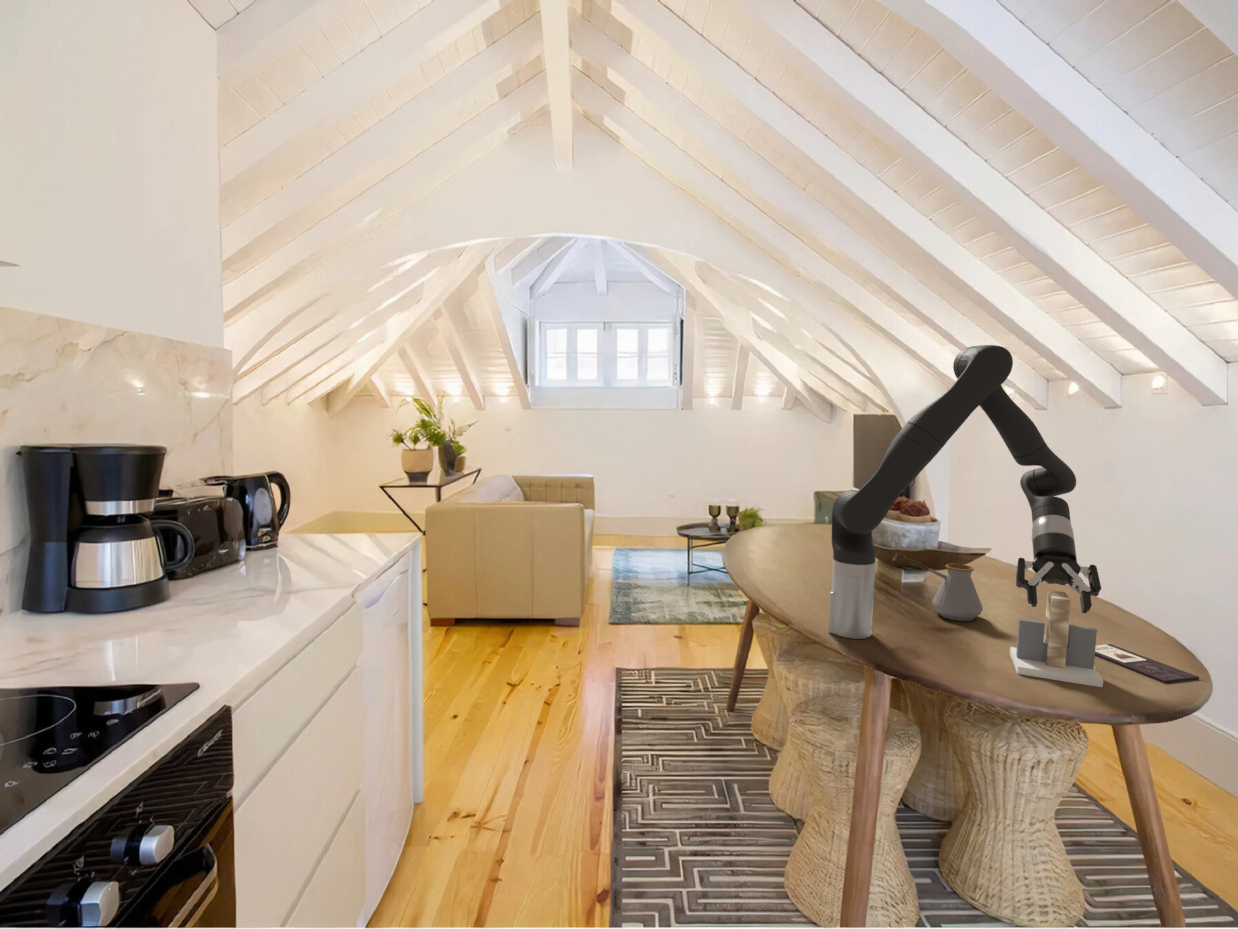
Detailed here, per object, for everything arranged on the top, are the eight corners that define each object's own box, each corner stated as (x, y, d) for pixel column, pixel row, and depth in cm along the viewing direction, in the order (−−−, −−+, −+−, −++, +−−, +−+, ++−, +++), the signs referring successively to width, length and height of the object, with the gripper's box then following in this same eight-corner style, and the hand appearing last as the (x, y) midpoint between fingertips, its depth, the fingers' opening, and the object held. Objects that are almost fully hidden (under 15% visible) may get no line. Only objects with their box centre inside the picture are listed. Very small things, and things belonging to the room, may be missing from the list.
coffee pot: (977, 612, 169) (980, 555, 168) (986, 626, 158) (990, 565, 157) (888, 603, 176) (891, 548, 174) (892, 615, 165) (895, 558, 164)
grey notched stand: (1017, 673, 130) (1020, 627, 129) (1009, 653, 141) (1012, 610, 140) (1102, 687, 124) (1106, 639, 123) (1087, 665, 135) (1091, 620, 134)
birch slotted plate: (1047, 666, 130) (1052, 597, 129) (1042, 655, 136) (1047, 590, 134) (1064, 668, 129) (1070, 600, 128) (1059, 658, 134) (1064, 592, 133)
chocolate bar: (1164, 681, 126) (1078, 647, 144) (1163, 685, 126) (1078, 651, 144) (1199, 676, 128) (1110, 644, 146) (1198, 681, 129) (1110, 648, 146)
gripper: (1017, 528, 139) (1020, 594, 130) (1097, 534, 134) (1107, 604, 124) (1012, 547, 145) (1015, 612, 135) (1089, 554, 139) (1098, 622, 129)
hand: (1059, 608), depth 130 cm, fingers open, 8 cm apart
